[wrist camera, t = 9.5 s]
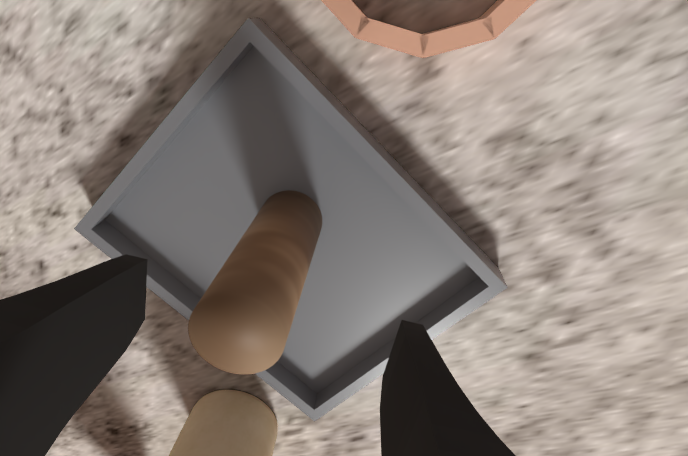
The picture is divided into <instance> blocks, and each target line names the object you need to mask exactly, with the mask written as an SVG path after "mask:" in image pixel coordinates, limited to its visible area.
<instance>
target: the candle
mask: <svg viewBox="0 0 688 456" xmlns="http://www.w3.org/2000/svg"><path fill="white" fill-rule="evenodd" d="M276 437H277V421H276V418H275V416H274V414H273V412H272V411H271V409H270V408H269V407H268V406H267V405H266V404H265V403H264V402H263V401H261V400H260V399H258V398H257V397H255V396H253V395H251V394H248V393H245V392H242V391H238V390H218V391H214V392H211V393H208V394H206V395H205V396H203V397H202V398H201V399H200V400H199V401H198V402H197V403H196V405H195V406H194V407H193V409H192V411H191V413H190V415H189V417H188V418H187V420H186V422H185V424H184V426H183V428H182V430H181V432H180V434H179V436H178V438H177V440H176V442H175V444H174V446H173V448H172V450H171V452H170V454H169V456H272V454H273V450H274V446H275V442H276Z"/></svg>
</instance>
